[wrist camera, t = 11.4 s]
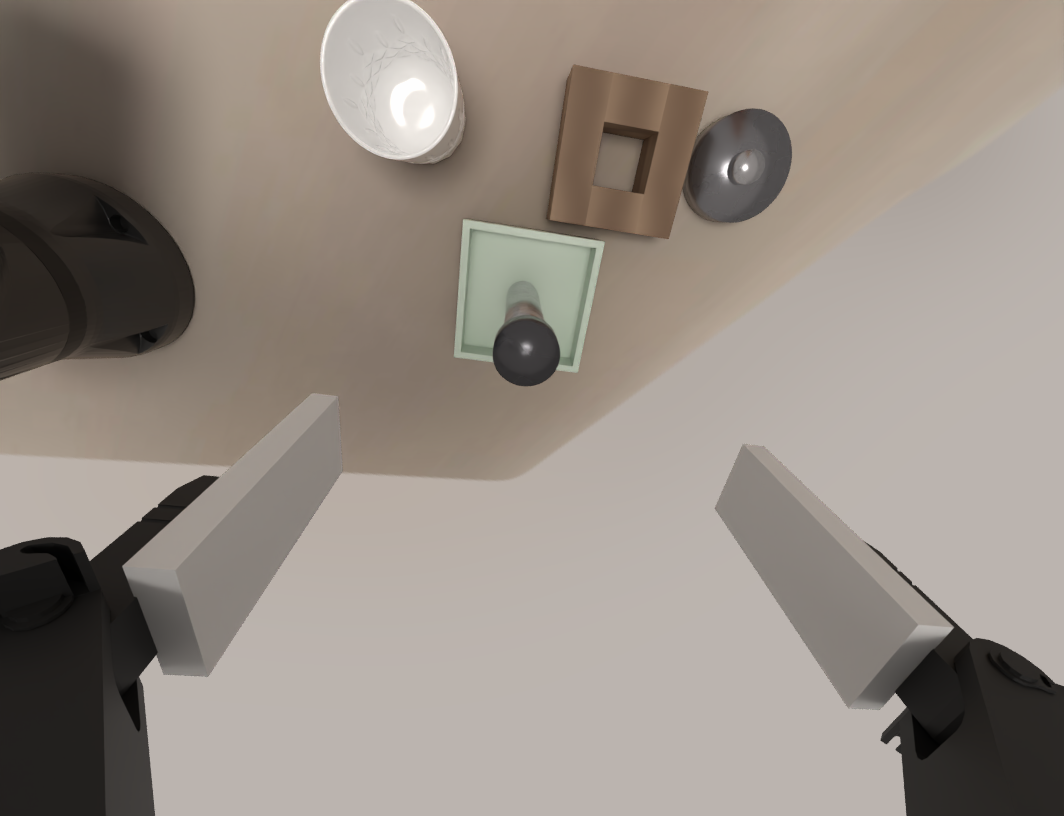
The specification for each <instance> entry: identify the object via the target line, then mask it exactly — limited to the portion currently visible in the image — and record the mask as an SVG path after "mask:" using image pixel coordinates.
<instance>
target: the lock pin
mask: <svg viewBox="0 0 1064 816" xmlns="http://www.w3.org/2000/svg"><path fill="white" fill-rule="evenodd" d="M559 361H560V347H559V343H558V340H557V337H556V334H555V332H554V330H553V329H552V327H551V326H550V325H549V324H548V323H547V322H545V321H544V317H543V313H542V308H541V304H540V300H539V296H538V292H537V290H536V288H535V287H534V286H533V285H532V284H531V283H529V282H525V281H520V282H516V283H514V284H513V285H512V286H511V287H510V288H509V290H508V293H507V300H506V310H505V319H504V324H503V325H502V326H501V327H500V329H499V330H498V332H497V334H496V336H495V340H494V346H493V362H494V365H495V367H496V369H497V371H498V372H499V374H500V375H501V376H502V377H503V378H504V379H506V380H507V381H509V382H511V383H513V384H515V385H519V386H533V385H537V384H540V383H542V382H544V381H545V380H547V379H548V378H549V377H550V376H551V375H552V374H553V373H554V372H555V370H556V369H557V367H558V364H559Z"/></svg>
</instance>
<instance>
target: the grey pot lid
mask: <svg viewBox="0 0 1064 816" xmlns="http://www.w3.org/2000/svg"><path fill="white" fill-rule="evenodd" d="M791 159H792V147H791V140H790V137H789V134H788V132H787V129H786V127H785V126H784V124H783V123H782V122H781V121H780V120H779V119H778V118H777V117H776V116H775V115H773V114H772V113H770V112H768V111H765V110H761V109H745V110H741V111H738V112H735V113H733V114H730V115H728V116H726V117H723V118H721V119H719V120H717V121H715V122H713V123H712V124H711V125H709V126H708V127H707V128H706V129H704V130H703V131H702V132H701V133H700V134H699V136H698V137H697V138H696V139H695V143H694V147H693V151H692V154H691V158H690V162H689V165H688V169H687V173H686V176H685V180H684V184H683V192H684V196H685V198H686V201H687V203H688V204H689V206H690V207H691V209H692V210H693V211H694V212H695V213H696V214H697V215H699V216H700V217H702V218H704V219H706V220H710V221H716V222H730V223H731V222H740V221H744V220H747V219H750V218H752V217H754V216H756V215H757V214H759V213H761V212H762V211H763V210H764V209H766V208H767V207H768V206H769V205H770V204H771V203H772V202H773V201H774V199H775V198H776V197H777V196H778V194H779V193H780V191H781V189H782V188H783V186H784V184H785V182H786V179H787V177H788V174H789V170H790V166H791Z"/></svg>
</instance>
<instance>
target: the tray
mask: <svg viewBox="0 0 1064 816" xmlns="http://www.w3.org/2000/svg"><path fill="white" fill-rule="evenodd" d="M604 244H605V242H604V241H601V240H599V239H593V238H586V237H580V236H574V235H567V234H561V233H555V232H549V231H542V230H536V229H530V228H523V227H517V226H511V225H505V224H498V223H492V222H486V221H479V220H473V219H463V228H462V243H461V258H460V273H459V288H458V303H457V318H456V333H455V348H454V357H456V358H464V359H472V360H479V361H487V362H493V346H494V340H495V336H496V334H497V332H498V330H499V329H500V327H501V326H502V325H503V324H504V319H505V310H506V300H507V293H508V290H509V288H510V287H511V286H512V285H513V284H514V283H516V282H520V281H525V282H529V283H531V284H532V285H533V286H534V287H535V288H536V290H537V292H538V296H539V300H540V304H541V308H542V313H543V317H544V321H545V322H547V323H548V324H549V325H550V326H551V327H552V329H553V330H554V332H555V334H556V337H557V340H558V343H559V347H560V361H559V364H558V367H557V369H556V370H559V371H567V372H575V373H578V369H579V364H580V359H581V354H582V349H583V345H584V340H585V335H586V330H587V325H588V321H589V316H590V311H591V306H592V301H593V297H594V292H595V287H596V282H597V278H598V273H599V268H600V263H601V258H602V254H603V249H604Z"/></svg>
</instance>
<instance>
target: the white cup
mask: <svg viewBox="0 0 1064 816" xmlns="http://www.w3.org/2000/svg"><path fill="white" fill-rule="evenodd" d="M320 71H321V79H322V84H323V88H324V92H325V95H326V98H327V101H328V103H329V106H330V108H331V110H332V112H333V114H334V116H335V117H336V119H337V121H338V122H339V124H340V125H341V126H342V128H343V129H344V130H345V131H346V133H347V134H348V135H349V136H350V137H351V138H352V139H353V140H354V141H355V142H357V143H358V144H359V145H360V146H362V147H363V148H365V149H366V150H368V151H370V152H371V153H373V154H376V155H378V156H381V157H384V158H388V159H393V160H398V161H402V162H407V163H414V164H426V163H429V164H435V163H437V162H439V161H441V160H444V159H446V158H448V157H450V156H451V155H452V153H453V152H454V151H455V149H456V148H457V147H458V145H459V144H460V142H461V141H462V137H463V132H464V127H465V122H466V116H465V110H464V99H463V93H462V89H461V84H460V81H459V77H458V74H457V70H456V66H455V62H454V59H453V56H452V53H451V50H450V47H449V45H448V43H447V41H446V39H445V37H444V35H443V33H442V32H441V30H440V29H439V27H438V26H437V24H436V23H435V22H434V21H433V19H432V18H431V17H430V16H429V15H428V14H427V13H426V12H425V11H424V10H423V9H422V8H421V7H419V6H418V5H417V4H415V3H414V2H412V1H411V0H348V1H347V2H345V3H344V4H343V5H342V6H341V7H340V8H339V9H338V10H337V11H336V12H335V14H334V15H333V17H332V18H331V20H330V22H329V24H328V26H327V28H326V31H325V34H324V37H323V41H322V46H321V53H320Z"/></svg>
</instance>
